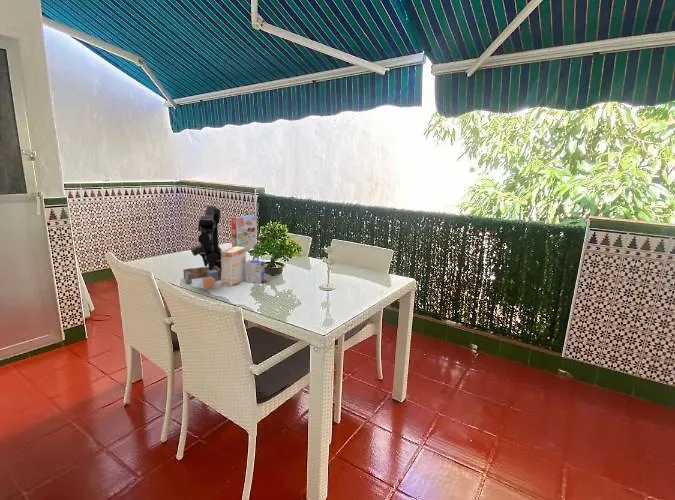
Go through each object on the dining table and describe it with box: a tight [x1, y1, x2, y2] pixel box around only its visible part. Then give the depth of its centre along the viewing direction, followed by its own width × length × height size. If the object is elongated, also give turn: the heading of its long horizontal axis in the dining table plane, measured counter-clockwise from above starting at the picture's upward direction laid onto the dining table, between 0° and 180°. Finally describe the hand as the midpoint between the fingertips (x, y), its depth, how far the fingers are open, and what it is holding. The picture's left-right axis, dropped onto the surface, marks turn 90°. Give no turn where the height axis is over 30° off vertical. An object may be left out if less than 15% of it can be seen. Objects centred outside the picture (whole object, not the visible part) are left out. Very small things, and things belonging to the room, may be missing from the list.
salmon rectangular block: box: [202, 277, 216, 290], centre depth 208 cm, size 5×6×5 cm
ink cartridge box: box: [245, 256, 265, 284], centre depth 220 cm, size 10×6×14 cm, turn 78°
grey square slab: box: [185, 271, 193, 284], centre depth 214 cm, size 2×6×6 cm, turn 34°
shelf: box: [183, 266, 222, 281], centre depth 220 cm, size 19×10×6 cm, turn 124°
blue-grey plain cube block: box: [207, 270, 220, 282], centre depth 221 cm, size 5×6×5 cm
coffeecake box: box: [221, 246, 247, 287], centre depth 217 cm, size 15×7×20 cm, turn 160°
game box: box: [231, 214, 257, 252], centre depth 294 cm, size 21×6×27 cm, turn 145°
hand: (208, 268), depth 206 cm, fingers open, 9 cm apart
